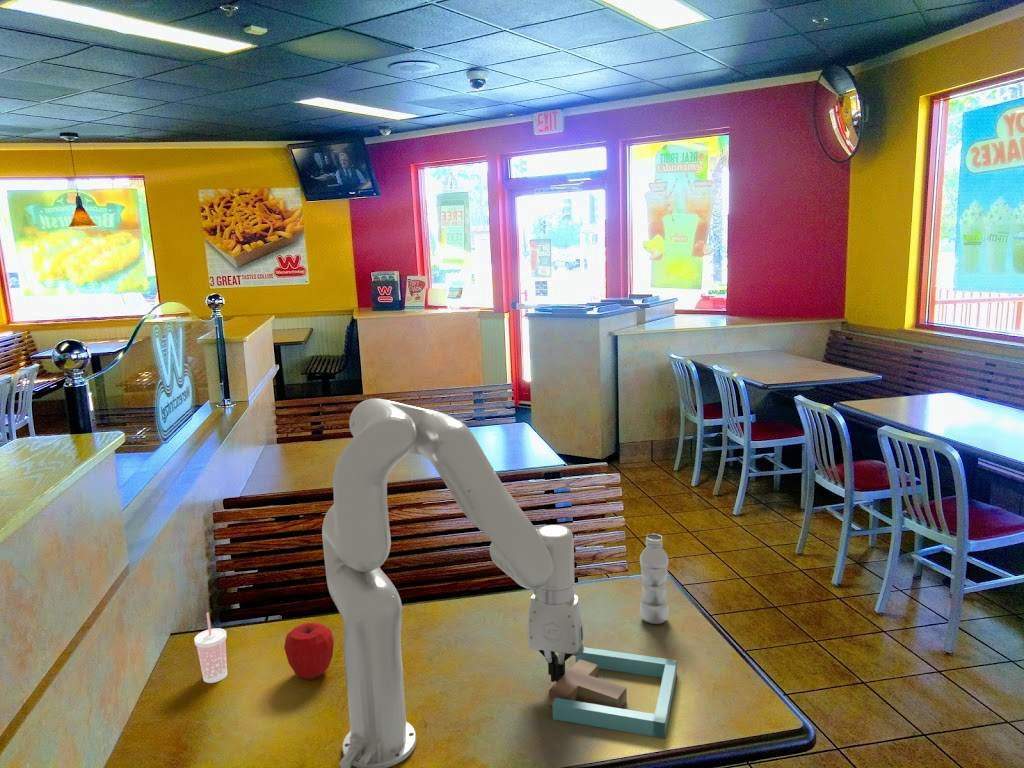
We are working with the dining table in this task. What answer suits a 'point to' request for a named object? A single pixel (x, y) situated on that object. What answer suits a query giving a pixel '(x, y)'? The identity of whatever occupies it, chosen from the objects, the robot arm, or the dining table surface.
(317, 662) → the apple
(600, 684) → the walnut T-block
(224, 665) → the beverage cup
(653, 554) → the plastic bottle
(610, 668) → the teal corral
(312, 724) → the dining table surface
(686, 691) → the dining table surface
